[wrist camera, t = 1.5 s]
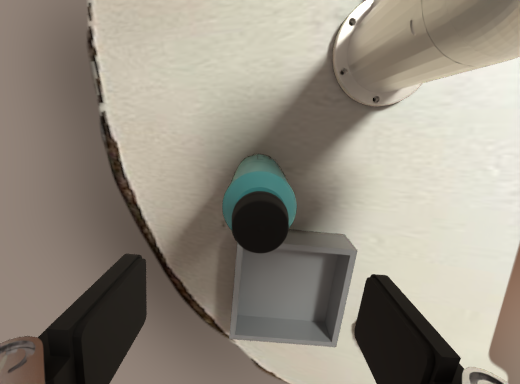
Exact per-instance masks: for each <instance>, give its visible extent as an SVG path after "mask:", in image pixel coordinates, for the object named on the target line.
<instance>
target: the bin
mask: <svg viewBox="0 0 520 384" xmlns="http://www.w3.org/2000/svg"><path fill="white" fill-rule="evenodd" d="M356 255H357V249H356V248H355V247H354V246H353V244H352V243H351V242H350V241H349V239H348V238H347V237H346V236H345V235H342V234H332V233H321V232H310V231H299V230H289V231H288V234H287V237H286V239H285V240H284V242H283V243H282V244H281V245H280V246H279V247H278V248H277V249H275V250H273V251H271V252H268V253H253V252H250V251H247V250H245V249H244V248H242V247H241V246H240V245H239V244H238V243H237V254H236V266H235V278H234V289H233V301H232V313H231V324H230V336H229V339H237V340H250V341H263V342H276V343H289V344H302V345H315V346H328V347H336V345H337V341H338V336H339V332H340V327H341V323H342V318H343V314H344V309H345V305H346V300H347V295H348V291H349V286H350V282H351V277H352V273H353V268H354V264H355V259H356Z"/></svg>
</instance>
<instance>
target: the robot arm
mask: <svg viewBox="0 0 520 384" xmlns="http://www.w3.org/2000/svg"><path fill="white" fill-rule="evenodd" d="M349 23H351V26H350V25H349ZM518 57H520V0H365V1H364V2H362V3H361V4H360V5H358V6H357V7H356V8H355V9H354V10H353V11H352V12H351V13H350V15H349V16H348V17H347V18H346V20H345V21H344V22H343V24H342V26H341V28H340V30H339V31H338V34H337V37H336V40H335V43H334V49H333V67H334V72H335V76H336V78H337V81H338V83H339V84H340V86H341V88H342V89H343V91H344V92H345V93H346V94H347V95H348V96H349V97H351V98H352V99H354V100H355V101H357V102H359V103H362V104H364V105H369V106H385V105H391V104H394V103H397V102H400V101H401V100H403V99H405V98H407V97H409V96H410V95H411V94H412V93H414V92H415V91H416V90H417V89H418V88H419V87H420V86H421V85H422V84H423V83H425V82H429V81H433V80H437V79H440V78H444V77H448V76H452V75H455V74H459V73H463V72H467V71H471V70H474V69H478V68H482V67H486V66H489V65H493V64H497V63H501V62H505V61H508V60H512V59H515V58H518ZM341 71H342V72H343V75H341V74H340V72H341ZM373 98H374V99H375V101H374V102H373ZM145 319H146V260H145V259H142V257H141V255H135V254H125V255H123V256H122V257H121V258H120V259H119V260H118V261H117V262H116V263H115V264H114V265H113V266H112V267H111V268H110V269H109V270H108V271H107V272H106V273H105V274H104V275H102V276H101V277H100V279H98V280H97V281H96V282H95V283H94V284H93V285H92V286H91V287H90V288H89V289H88V290H87V291H86V292H85V293H84V294H83V295H81V296H80V297H79V298H78V299H77V300H76V301H75V302H74V303H73V304H72V305H71V306H70V307H69V308H68V309H67V310H66V311H65V312H64V313H63V314H62V315H61V316H60V317H58V318H57V319H56V320H55V321H54V322H53V323H52V324H51V325H50V326H49V327H48V328H47V329H46V330H45V331H44V332H43V333H42V334H41V335H40V336H39V337H38V338H37V337H32V336H24V337H17V338H14V339H10V340H7V341H4V342H2V343H0V384H109V383H110V381H111V380H112V378H113V376H114V375H115V373H116V371H117V369H118V368H119V366H120V364H121V362H122V361H123V359H124V357H125V356H126V354H127V352H128V350H129V349H130V347H131V345H132V343H133V342H134V340H135V338H136V337H137V335H138V333H139V331H140V330H141V328H142V326H143V324H144V322H145ZM355 338H356V341H357V343H358V345H359V347H360V349H361V351H362V353H363V355H364V358H365V360H366V362H367V364H368V366H369V368H370V370H371V372H372V374H373V377H374V379H375V381H376V383H377V384H508V383H507V382H506V381H504V380H503V379H501V378H500V377H498V376H496V375H494V374H493V373H491V372H488V371H486V370H483V369H480V368H476V367H468V368H466V369H464V368H463V367H462V366H461V365H460V364H459V362H460V359H461V358H460V357H459V356H458V354H457V353H456V352H455V351H454V350H453V349H452V348H451V347H450V345H449V344H448V343H447V342H446V341H445V340H444V339H443V338H442V337H441V335H440V334H439V333H438V332H437V331H436V330H435V329H434V328H433V326H432V325H431V324H430V323H429V322H428V321H427V320H426V319H425V317H424V316H423V315H422V314H421V313H420V312H419V311H418V310H417V308H416V307H415V306H414V305H413V304H412V303H411V302H410V301H409V299H408V298H407V297H406V296H405V295H404V294H403V293H402V292H401V290H400V289H399V288H398V287H397V286H396V285H395V284H394V283H393V281H392V280H391V279H390V278H389V277H388V276H386V275H375V274H373V275H371V277H370V278H369V277H368V278H367V280H366V283H365V287H364V292H363V296H362V300H361V305H360V309H359V313H358V318H357V322H356V326H355Z"/></svg>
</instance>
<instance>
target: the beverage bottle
mask: <svg viewBox="0 0 520 384" xmlns="http://www.w3.org/2000/svg"><path fill="white" fill-rule="evenodd" d="M278 165H279V164H278ZM278 165H277V163H276V162H275V161H274V160H273V159H271V157H269V156H265V155H264V154H263V155H256V154H255V155H252V156H250V157H249V156H247V157H246V159H244V160H243V161H242V162H241V164H240V165H239V167H238V169H237V171H236V170H235V171H236V173H235V172H234V174H235V175H233V176H234V178H233V180H232V181H231V184H230V186H229V187H228V189H227V191H226V193H225V195H224V198H223V204H222V209H223V215H224V218H225V221H226V223H227V225H228V226H229V228H230V229H231V230H232V233H233V236H234V238H235V240H236V241H237V243H238V244H239V245H240V246H241V247H242V248H244V249H245V250H247V251H250V252H253V253H268V252H271V251H273V250H275V249H277V248H278V247H279V246H280V245H281V244H282V243H283V242H284V240H285V239H286V237H287V234H288V231H289V227H290V226H291V224H292V223H293V221H294V218H295V215H296V209H297V203H296V198H295V194H294V192H293V190H292V188H291V187H290V185H289V184H288V183H287V181H286V179H285V176H286V175H285V176H284V175H283V174H284V173H282V172H283V171H282V172H281V170H282V169H281V170H280V168H279V166H278Z"/></svg>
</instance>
